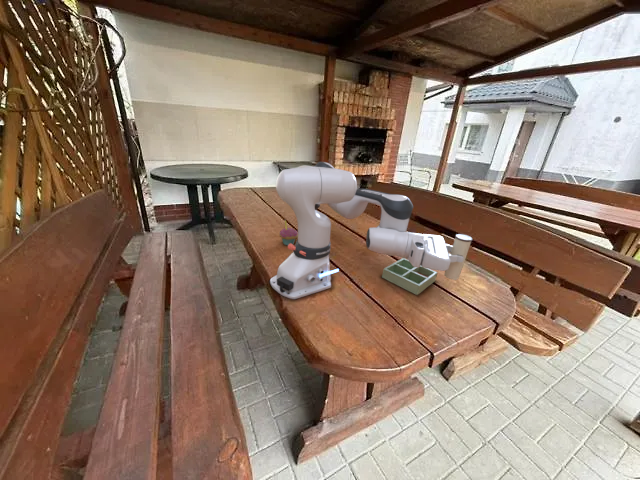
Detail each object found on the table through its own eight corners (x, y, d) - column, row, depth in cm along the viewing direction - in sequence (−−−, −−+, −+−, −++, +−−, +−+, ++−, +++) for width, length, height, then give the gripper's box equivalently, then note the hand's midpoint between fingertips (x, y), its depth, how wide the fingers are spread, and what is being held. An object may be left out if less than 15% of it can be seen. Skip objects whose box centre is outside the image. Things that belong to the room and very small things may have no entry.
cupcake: (285, 248, 116) (285, 223, 111) (275, 241, 122) (275, 217, 117) (301, 244, 121) (302, 219, 116) (291, 237, 127) (291, 214, 122)
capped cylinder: (455, 281, 82) (469, 241, 77) (441, 275, 85) (453, 236, 80) (461, 277, 85) (474, 237, 80) (447, 271, 88) (459, 233, 83)
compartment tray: (417, 295, 90) (419, 286, 88) (381, 277, 99) (383, 268, 98) (435, 281, 99) (437, 272, 98) (401, 265, 108) (403, 257, 107)
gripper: (412, 243, 96) (453, 250, 92) (413, 269, 78) (464, 279, 74) (416, 227, 93) (458, 234, 90) (418, 250, 75) (471, 260, 72)
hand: (461, 255), depth 82 cm, fingers closed on capped cylinder, 4 cm apart
